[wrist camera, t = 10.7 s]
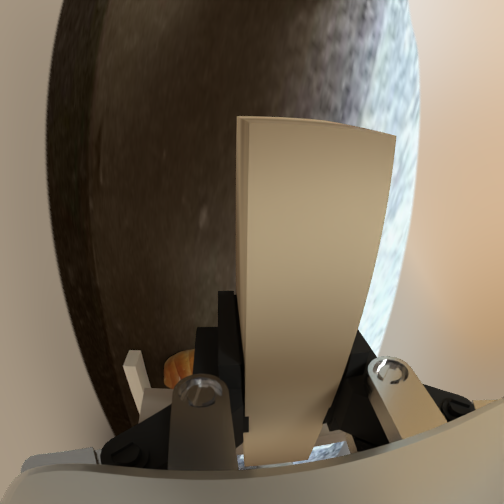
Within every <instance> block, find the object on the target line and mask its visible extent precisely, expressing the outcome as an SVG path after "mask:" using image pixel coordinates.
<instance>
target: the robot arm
mask: <svg viewBox="0 0 504 504" xmlns="http://www.w3.org/2000/svg"><path fill="white" fill-rule="evenodd" d="M326 423H327V426H328V429H329V432H331V431H336V430H341V431H343V432H346V433H345V437H346V441H347V444H348V447H349V450H350V453H351V454H349V455H344V456H340V457H335V458H330V459H325V460H320V461H314V462H308V463H302V464H295V465H288V466H280V467H271V468H261V469H248V470H239V468H238V461H237V454H236V448H237V447H239V446H240V445H241V444H242V443H243V442H244V439H243V433H247V432H249V416H246V417H245V369H244V356H243V347H242V339H241V330H240V321H239V312H238V303H237V295H234V291H218V327H197V332H196V342H195V352H194V362H193V373H192V375H190V376H187V377H184V378H183V379H181V380H180V381H179V382H178V383H177V384H176V385H175V387H174V390H173V395H172V404H170V405H168V406H167V407H165V408H164V409H162V410H160V411H159V412H157V413H155V414H154V415H152V416H150V417H149V418H147V419H145V420H144V421H142V422H140V423H139V424H137V425H135V426H133V427H132V428H130V429H128V430H127V431H125V432H123V433H121V434H119V435H118V436H116V437H114V438H112V439H111V440H110V441H109V442H107V443H106V444H105V445H104V447H103V448H102V449H99V450H94V448H93V447H90V448H84V449H78V450H71V451H64V452H56V453H48V454H39V455H34V456H31V457H29V458H28V459H27V460H25V462H24V463H23V465H22V468H21V474H20V475H18V476H17V477H16V478H15V479H14V480H13V481H12V483H11V484H10V485H9V487H8V488H7V490H6V492H5V494H4V496H3V498H2V500H1V502H0V504H504V397H502V398H500V399H496V400H473V401H472V402H470V401H469V400H468V399H467V398H464V397H462V396H460V395H457V394H453V393H450V392H447V391H443V390H440V389H437V388H434V387H431V386H428V385H424V384H422V383H421V381H420V380H419V378H418V377H417V375H416V374H415V372H414V371H413V369H412V368H411V367H410V366H409V365H408V364H407V363H406V362H405V361H403V360H401V359H399V358H396V357H390V356H382V357H378V358H377V357H376V355H375V354H374V352H373V351H372V349H371V348H370V346H369V345H368V343H367V342H366V341H365V339H364V338H363V336H362V335H361V333H360V332H359V330H357V333H356V336H355V339H354V343H353V346H352V349H351V352H350V355H349V358H348V361H347V364H346V367H345V370H344V372H343V375H342V378H341V381H340V384H339V386H338V389H337V392H336V394H335V397H334V399H333V402H332V405H331V407H330V408H328V411H327V413H326V416H325V418H324V421H323V423H322V424H326Z"/></svg>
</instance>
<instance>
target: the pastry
mask: <svg viewBox="0 0 504 504" xmlns="http://www.w3.org/2000/svg"><path fill="white" fill-rule="evenodd" d="M194 352H195V349H190V350H186V351H182V352H179V353H177V354H175V355H173V356H171V357H170V358H169V359H168V360H167V361H166V362H165V364H164V384H165V385H166V386H167V387H169V388H171V389H174V387H175V385H176V384H177V383H178V382H179V381H180V380H181V379H183V378H184V377H187V376H190V375H192V373H193V362H194Z"/></svg>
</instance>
